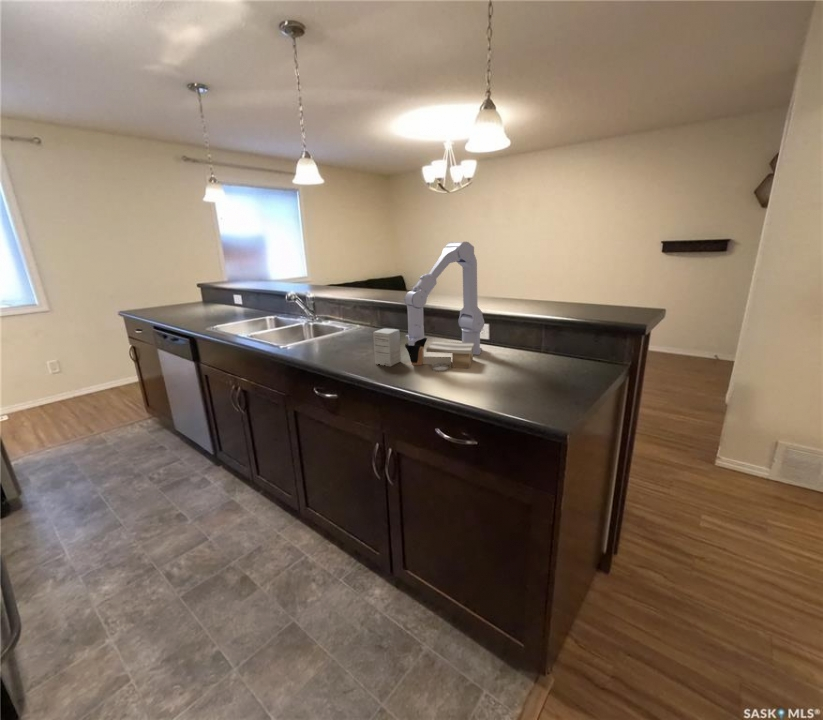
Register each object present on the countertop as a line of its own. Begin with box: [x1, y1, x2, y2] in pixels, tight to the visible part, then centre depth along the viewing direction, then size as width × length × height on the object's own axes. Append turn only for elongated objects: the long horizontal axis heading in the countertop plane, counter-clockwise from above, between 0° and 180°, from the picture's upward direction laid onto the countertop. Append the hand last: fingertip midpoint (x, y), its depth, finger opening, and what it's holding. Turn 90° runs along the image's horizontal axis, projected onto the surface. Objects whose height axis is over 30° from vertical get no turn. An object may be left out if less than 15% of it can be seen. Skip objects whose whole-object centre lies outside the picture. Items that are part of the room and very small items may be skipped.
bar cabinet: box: [426, 341, 474, 369], centre depth 144 cm, size 11×16×7 cm
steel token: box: [431, 363, 450, 373], centre depth 138 cm, size 6×6×2 cm
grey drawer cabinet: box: [372, 327, 402, 367], centre depth 145 cm, size 7×7×13 cm
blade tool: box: [411, 347, 452, 366], centre depth 144 cm, size 4×14×6 cm, turn 80°
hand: (416, 359), depth 145 cm, fingers open, 7 cm apart
